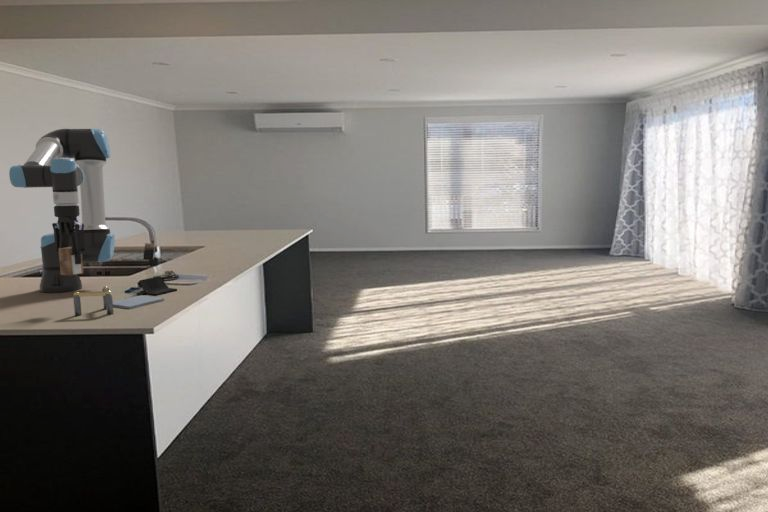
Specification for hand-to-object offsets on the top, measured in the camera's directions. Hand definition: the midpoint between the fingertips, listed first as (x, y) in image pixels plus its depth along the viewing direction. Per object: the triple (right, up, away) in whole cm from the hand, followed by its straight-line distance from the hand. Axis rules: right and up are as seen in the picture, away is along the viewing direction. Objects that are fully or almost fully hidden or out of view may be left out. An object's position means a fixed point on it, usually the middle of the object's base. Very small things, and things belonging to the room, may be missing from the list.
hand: (71, 272), depth 203 cm
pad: (+17, -11, +12) cm, 24 cm away
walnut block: (0, 0, 0) cm, 0 cm away
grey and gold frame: (+11, -13, -3) cm, 18 cm away
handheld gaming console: (+18, -9, +31) cm, 37 cm away
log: (+10, -5, +60) cm, 61 cm away
